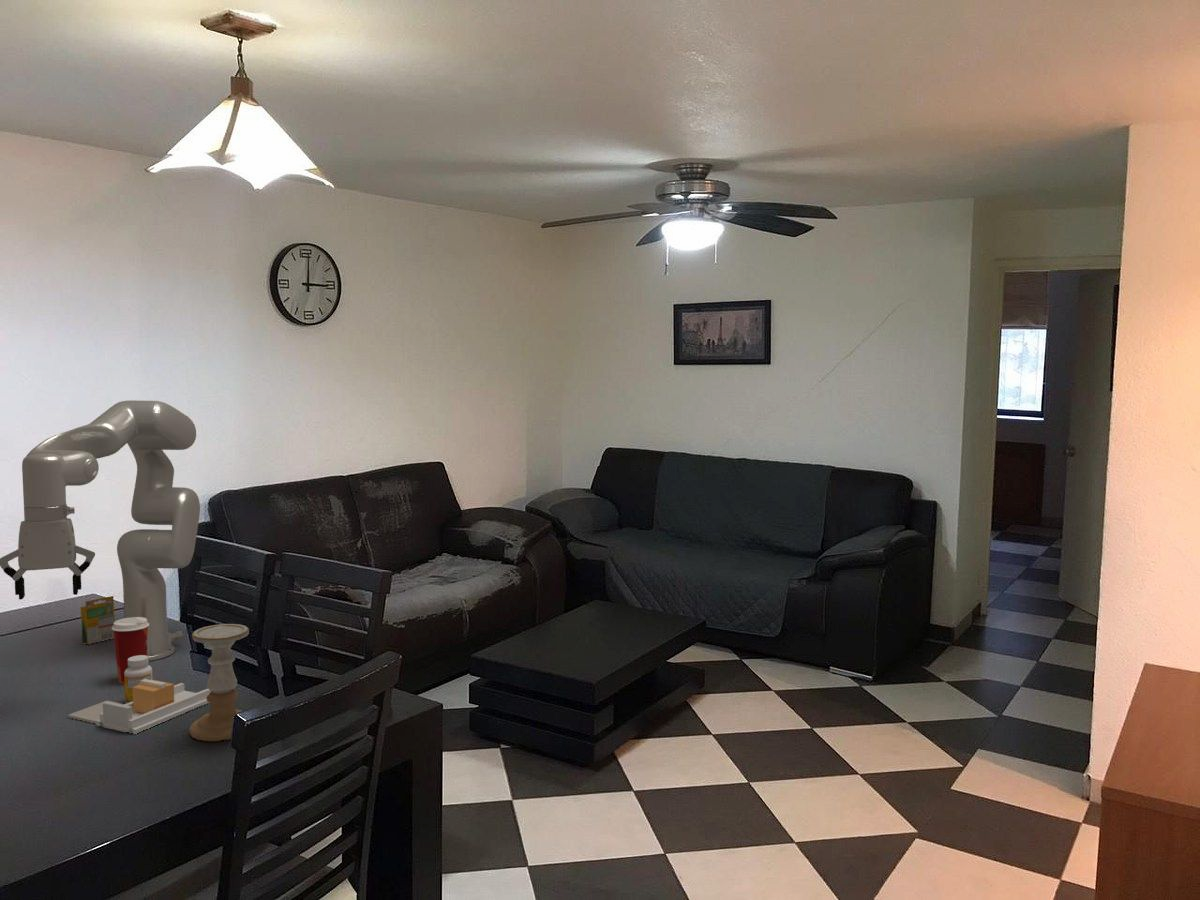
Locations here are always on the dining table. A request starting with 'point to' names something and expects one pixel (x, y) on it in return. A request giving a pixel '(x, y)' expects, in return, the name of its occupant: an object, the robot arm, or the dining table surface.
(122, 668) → the paper cup
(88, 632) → the crayon box
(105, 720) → the guard channel
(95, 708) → the pad
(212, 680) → the candle holder
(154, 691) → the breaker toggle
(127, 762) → the dining table surface
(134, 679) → the supplement bottle
